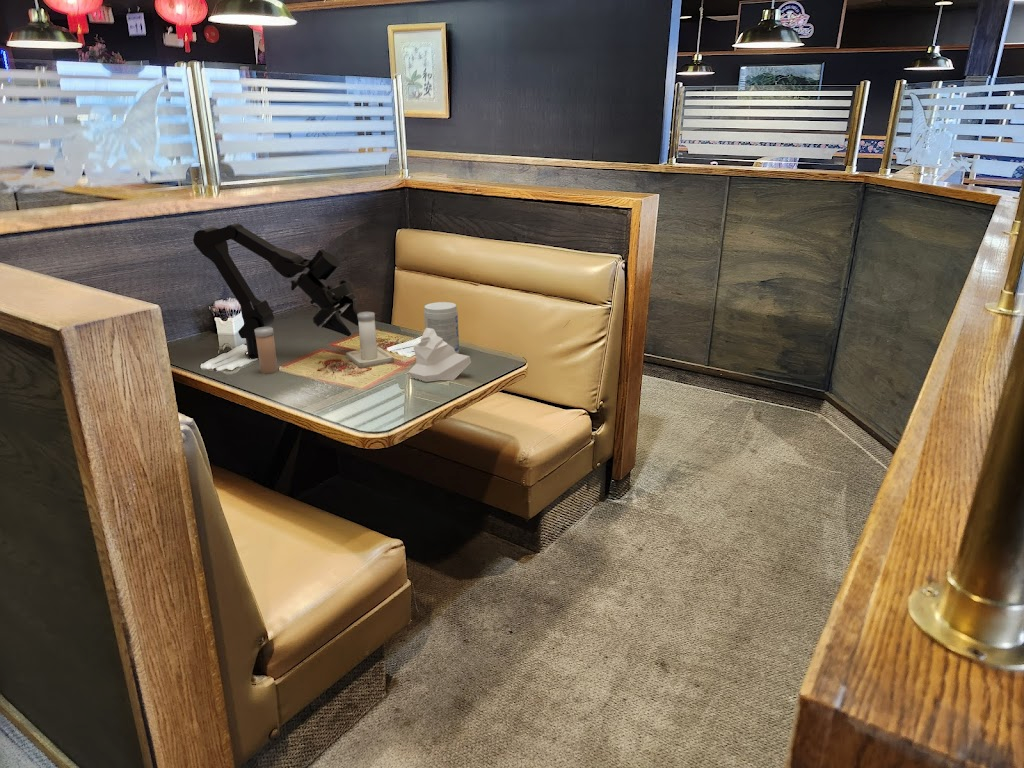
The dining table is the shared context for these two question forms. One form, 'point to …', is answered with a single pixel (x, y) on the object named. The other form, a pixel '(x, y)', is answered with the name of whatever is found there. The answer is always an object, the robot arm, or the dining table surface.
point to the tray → (356, 359)
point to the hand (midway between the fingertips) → (356, 330)
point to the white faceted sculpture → (437, 359)
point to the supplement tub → (443, 322)
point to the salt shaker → (367, 335)
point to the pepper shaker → (266, 349)
